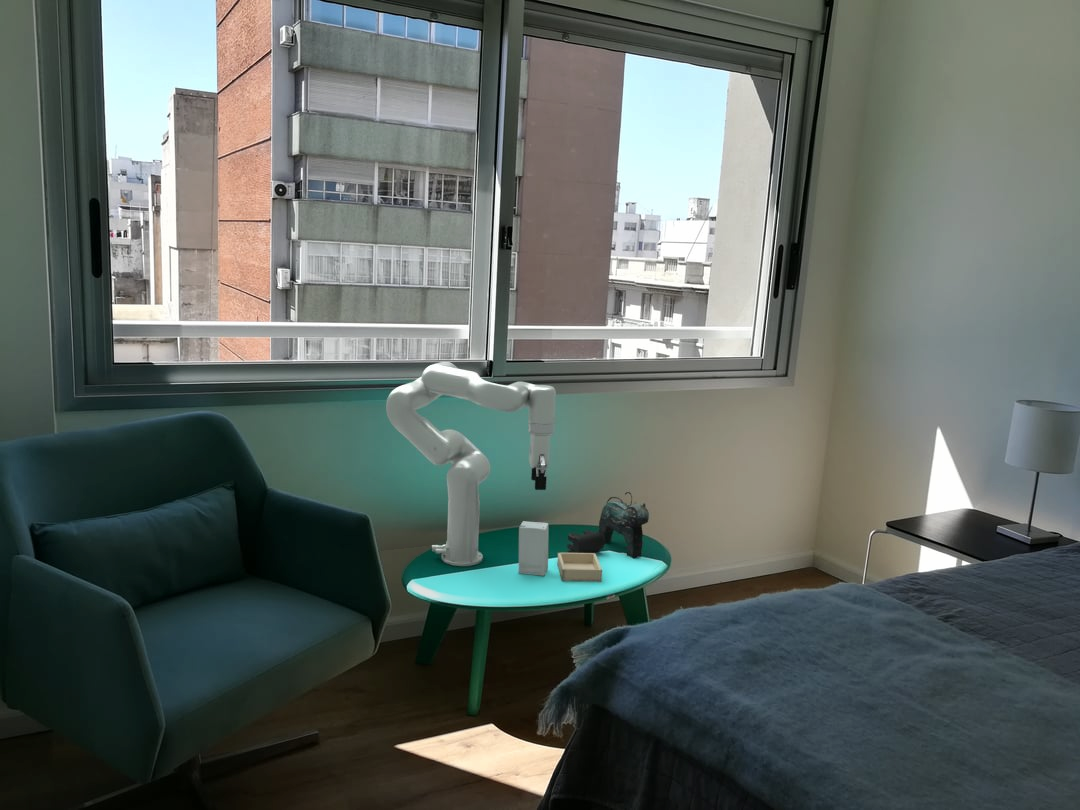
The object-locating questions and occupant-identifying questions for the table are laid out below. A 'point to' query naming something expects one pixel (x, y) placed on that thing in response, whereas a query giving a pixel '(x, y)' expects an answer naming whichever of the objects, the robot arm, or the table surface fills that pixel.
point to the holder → (579, 567)
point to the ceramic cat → (624, 523)
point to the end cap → (585, 542)
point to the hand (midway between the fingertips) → (538, 484)
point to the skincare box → (533, 548)
